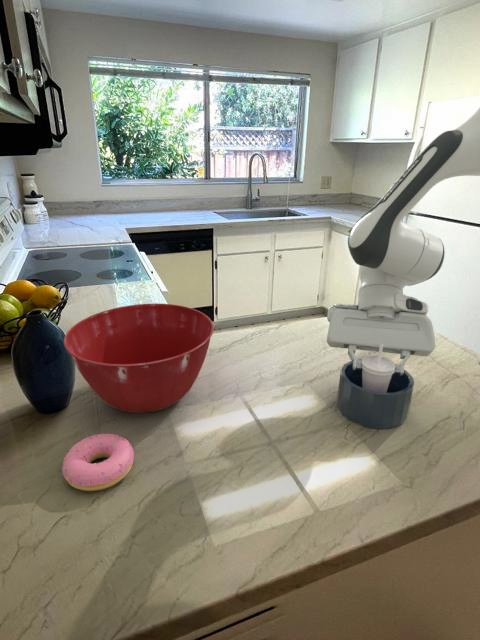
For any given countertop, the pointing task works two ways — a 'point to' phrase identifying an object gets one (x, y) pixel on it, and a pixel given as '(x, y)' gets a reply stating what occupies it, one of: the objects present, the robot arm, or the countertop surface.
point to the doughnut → (98, 474)
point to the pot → (374, 399)
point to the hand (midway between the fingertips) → (377, 372)
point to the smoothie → (377, 372)
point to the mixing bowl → (141, 353)
